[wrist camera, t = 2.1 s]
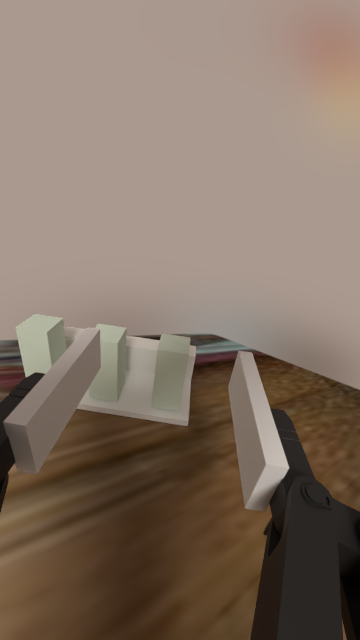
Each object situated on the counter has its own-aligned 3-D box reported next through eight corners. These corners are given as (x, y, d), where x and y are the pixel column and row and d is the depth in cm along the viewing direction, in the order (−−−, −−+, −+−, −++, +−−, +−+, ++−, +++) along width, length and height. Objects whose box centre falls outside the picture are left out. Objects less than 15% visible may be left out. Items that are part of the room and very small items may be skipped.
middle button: (124, 382, 38) (126, 327, 34) (116, 401, 35) (117, 343, 30) (99, 378, 38) (98, 323, 34) (89, 397, 35) (86, 338, 30)
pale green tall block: (181, 391, 38) (190, 337, 34) (178, 411, 35) (189, 354, 30) (156, 387, 38) (162, 333, 34) (151, 407, 35) (157, 349, 30)
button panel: (190, 373, 44) (195, 346, 42) (187, 426, 34) (194, 394, 31) (56, 352, 45) (53, 324, 42) (13, 398, 34) (5, 365, 32)
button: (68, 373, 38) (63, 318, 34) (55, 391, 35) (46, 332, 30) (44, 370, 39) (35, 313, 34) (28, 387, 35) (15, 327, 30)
